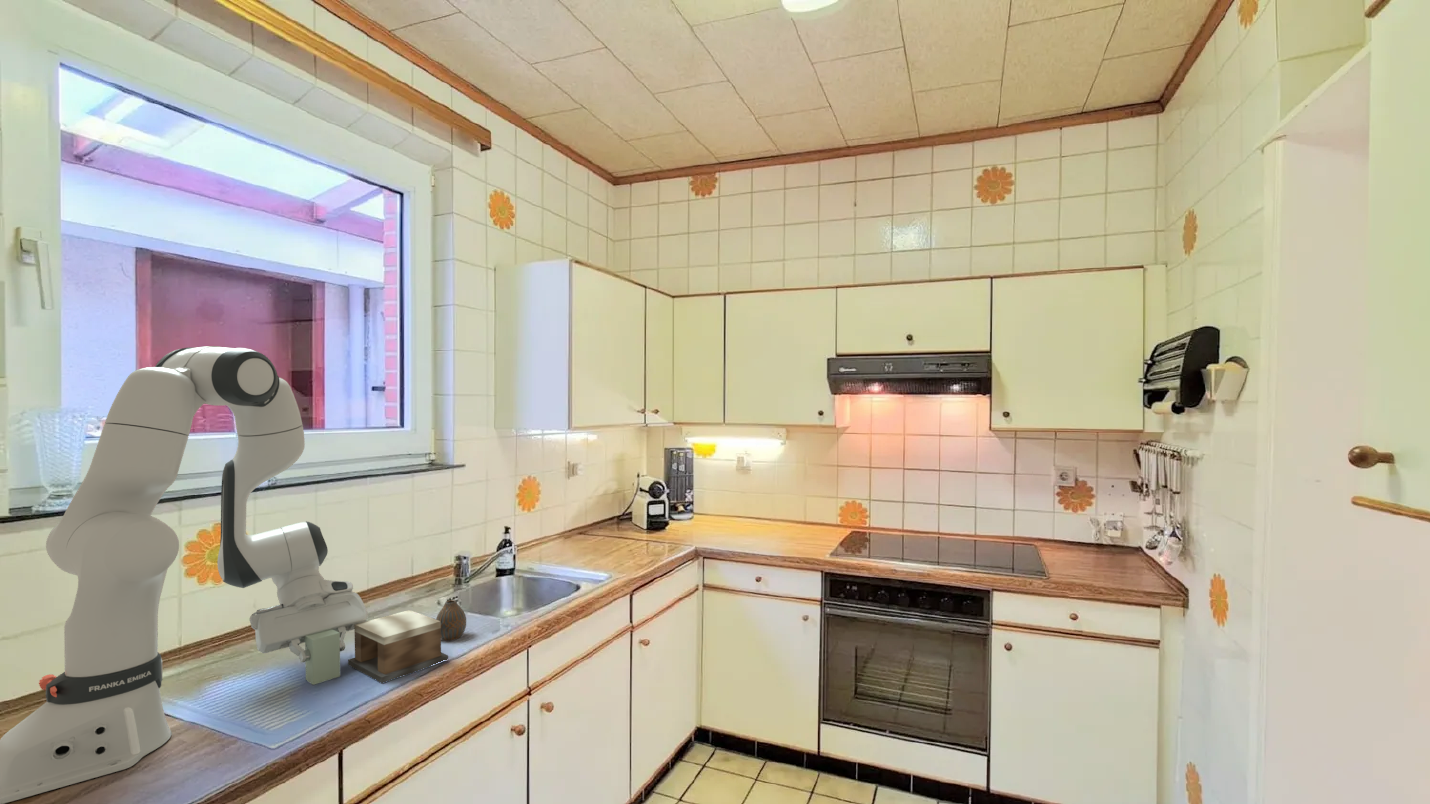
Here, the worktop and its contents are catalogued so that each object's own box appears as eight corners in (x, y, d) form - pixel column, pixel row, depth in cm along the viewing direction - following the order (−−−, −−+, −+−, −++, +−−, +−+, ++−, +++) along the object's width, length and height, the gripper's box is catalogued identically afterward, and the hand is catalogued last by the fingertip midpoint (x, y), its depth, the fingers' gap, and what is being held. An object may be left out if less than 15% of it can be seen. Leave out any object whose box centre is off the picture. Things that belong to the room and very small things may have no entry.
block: (313, 685, 126) (312, 640, 127) (305, 680, 129) (305, 636, 129) (340, 676, 130) (339, 632, 131) (332, 671, 133) (331, 629, 133)
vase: (457, 631, 157) (456, 595, 157) (472, 636, 152) (471, 600, 152) (430, 639, 151) (429, 602, 151) (444, 645, 147) (443, 607, 147)
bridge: (381, 683, 126) (381, 640, 127) (348, 665, 136) (347, 624, 136) (447, 660, 137) (447, 620, 138) (412, 645, 147) (411, 608, 147)
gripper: (250, 603, 126) (268, 663, 120) (359, 580, 142) (379, 632, 136) (243, 621, 129) (260, 681, 123) (350, 596, 145) (370, 648, 139)
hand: (324, 655), depth 129 cm, fingers closed on block, 5 cm apart
